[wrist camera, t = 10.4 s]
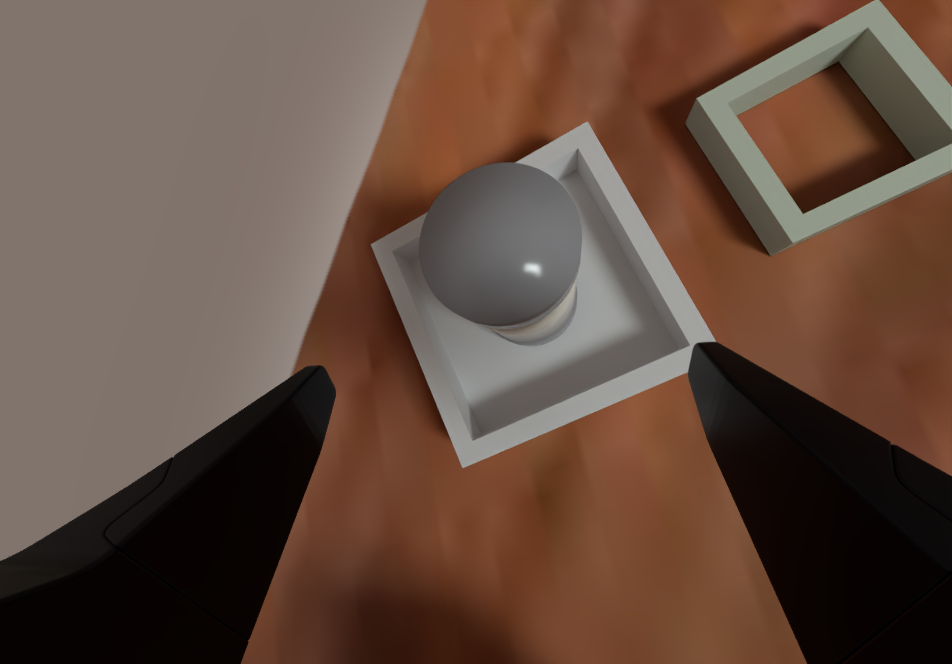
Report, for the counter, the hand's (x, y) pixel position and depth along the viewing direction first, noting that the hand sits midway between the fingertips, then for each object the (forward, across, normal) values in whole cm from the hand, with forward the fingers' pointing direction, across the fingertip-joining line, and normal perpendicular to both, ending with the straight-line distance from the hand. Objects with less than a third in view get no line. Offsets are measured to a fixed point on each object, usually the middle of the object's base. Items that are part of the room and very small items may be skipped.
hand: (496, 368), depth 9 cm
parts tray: (+12, -1, +6) cm, 13 cm away
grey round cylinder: (+11, -1, +5) cm, 12 cm away
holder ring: (+16, -15, 0) cm, 22 cm away
